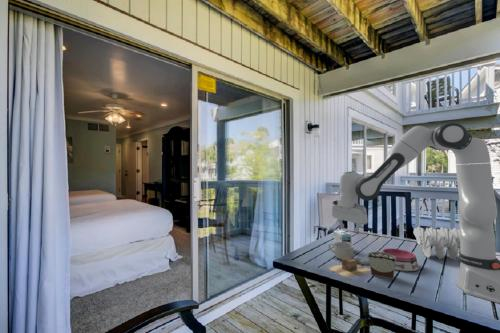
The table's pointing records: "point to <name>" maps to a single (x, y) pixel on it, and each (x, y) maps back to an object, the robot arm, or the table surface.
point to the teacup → (342, 249)
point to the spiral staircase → (438, 241)
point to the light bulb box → (342, 236)
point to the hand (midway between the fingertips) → (348, 229)
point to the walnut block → (349, 264)
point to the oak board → (346, 273)
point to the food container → (382, 264)
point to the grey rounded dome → (363, 261)
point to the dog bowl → (403, 260)
